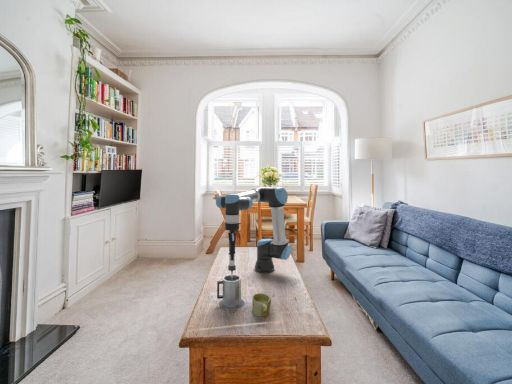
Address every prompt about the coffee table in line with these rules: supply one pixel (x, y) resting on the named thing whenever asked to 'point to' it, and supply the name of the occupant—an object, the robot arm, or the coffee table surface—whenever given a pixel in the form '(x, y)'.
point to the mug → (261, 304)
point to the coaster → (231, 308)
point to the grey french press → (230, 291)
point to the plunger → (232, 268)
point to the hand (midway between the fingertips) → (231, 265)
